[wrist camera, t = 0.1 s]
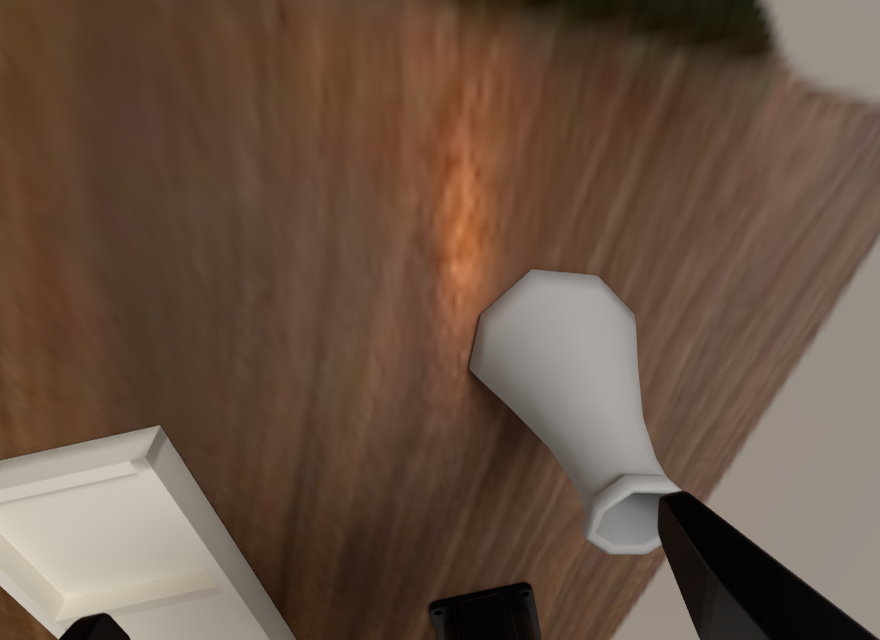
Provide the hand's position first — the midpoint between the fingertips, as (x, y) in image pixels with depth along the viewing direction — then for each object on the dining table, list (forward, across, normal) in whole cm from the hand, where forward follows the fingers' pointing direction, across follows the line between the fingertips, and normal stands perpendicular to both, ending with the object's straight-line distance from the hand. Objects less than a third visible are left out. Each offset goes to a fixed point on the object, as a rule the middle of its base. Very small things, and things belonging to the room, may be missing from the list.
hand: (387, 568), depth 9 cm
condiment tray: (+15, +17, +17) cm, 28 cm away
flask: (+15, -6, +7) cm, 18 cm away
